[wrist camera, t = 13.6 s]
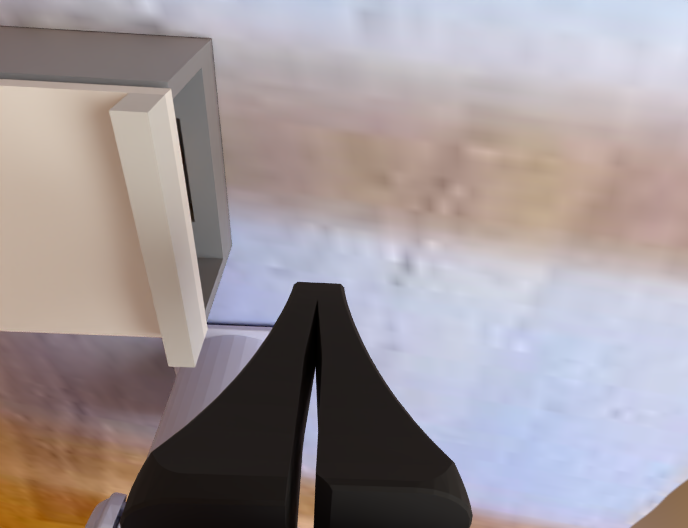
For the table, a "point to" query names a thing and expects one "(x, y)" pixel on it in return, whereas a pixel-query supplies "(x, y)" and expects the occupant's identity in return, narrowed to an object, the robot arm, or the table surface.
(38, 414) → the table surface
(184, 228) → the lid
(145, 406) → the table surface
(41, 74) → the housing
